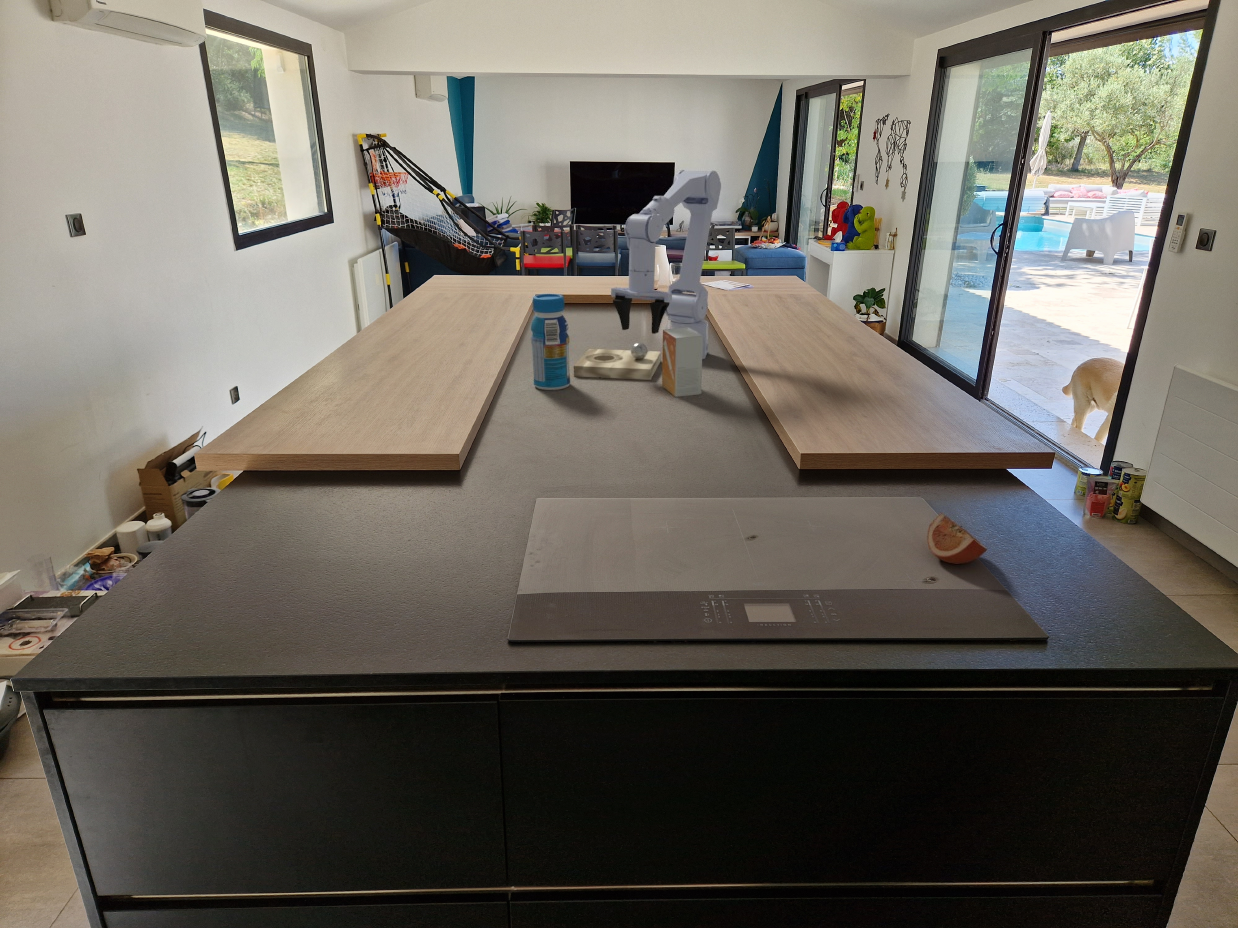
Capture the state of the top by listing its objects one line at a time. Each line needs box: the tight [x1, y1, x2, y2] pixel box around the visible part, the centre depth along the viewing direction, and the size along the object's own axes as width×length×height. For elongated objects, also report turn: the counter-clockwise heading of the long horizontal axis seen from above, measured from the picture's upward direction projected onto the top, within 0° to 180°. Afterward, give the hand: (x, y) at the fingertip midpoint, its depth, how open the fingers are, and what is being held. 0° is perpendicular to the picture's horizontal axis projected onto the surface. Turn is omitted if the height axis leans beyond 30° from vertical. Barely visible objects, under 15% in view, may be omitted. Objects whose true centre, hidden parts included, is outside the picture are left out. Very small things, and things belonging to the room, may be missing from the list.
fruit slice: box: [926, 512, 988, 565], centre depth 107 cm, size 8×7×5 cm
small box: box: [661, 328, 703, 398], centre depth 175 cm, size 8×6×13 cm
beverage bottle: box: [530, 293, 571, 391], centre depth 178 cm, size 8×8×20 cm
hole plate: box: [573, 348, 662, 381], centre depth 194 cm, size 18×16×2 cm
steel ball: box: [630, 342, 649, 360], centre depth 192 cm, size 4×4×4 cm
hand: (640, 331), depth 186 cm, fingers open, 7 cm apart
